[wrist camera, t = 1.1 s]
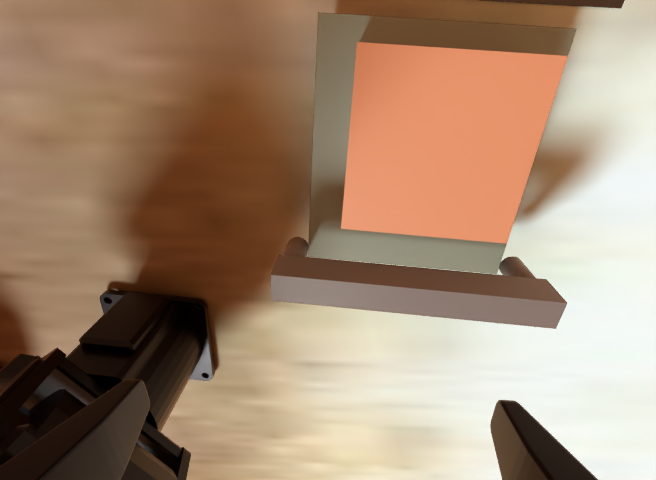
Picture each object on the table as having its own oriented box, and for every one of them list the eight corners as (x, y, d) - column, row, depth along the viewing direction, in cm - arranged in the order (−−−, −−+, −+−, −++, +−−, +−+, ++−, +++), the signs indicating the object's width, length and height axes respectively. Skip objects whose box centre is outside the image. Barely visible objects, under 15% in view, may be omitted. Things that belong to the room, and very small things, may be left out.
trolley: (500, 255, 19) (555, 328, 13) (295, 236, 19) (271, 300, 14) (571, 35, 14) (696, 17, 9) (299, 18, 15) (266, -9, 9)
